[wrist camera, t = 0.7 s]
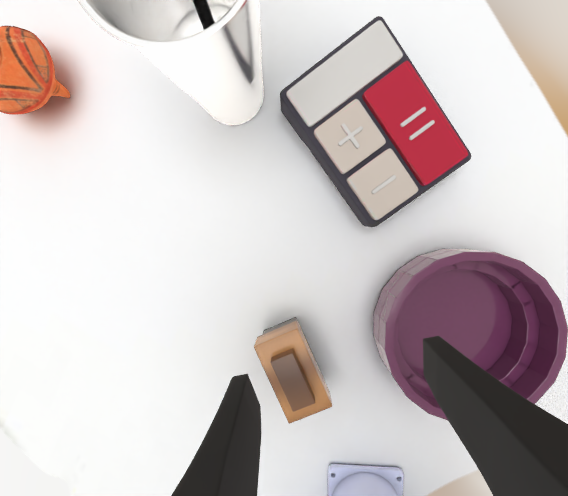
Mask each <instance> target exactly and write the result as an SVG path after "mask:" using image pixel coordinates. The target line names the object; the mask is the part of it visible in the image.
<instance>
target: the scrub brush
mask: <svg viewBox="0 0 568 496" xmlns="http://www.w3.org/2000/svg"><path fill="white" fill-rule="evenodd" d="M254 348H255V350H256V353H257V355H258V357H259V359H260V361H261V364H262V366H263V368H264V370H265V372H266V374H267V377H268V379H269V381H270V383H271V385H272V387H273V390H274V392H275V394H276V396H277V398H278V401H279V403H280V405H281V407H282V409H283V411H284V414H285V416H286V418H287V420H288V422H289V423H292V422H294V421H297V420H300V419H302V418H305V417H307V416H310V415H312V414H315V413H317V412H320V411H322V410H325V409H327V408H330V407H332V402H331V397H330V392H329V389H328V387H327V385H326V383H325V380H324V378H323V376H322V374H321V372H320V369H319V367H318V365H317V363H316V360H315V358H314V356H313V354H312V352H311V349H310V347H309V345H308V343H307V340H306V338H305V336H304V334H303V332H302V329H301V327H300V325H299V323H298V320H297V318H296V317H295V318H293V319H290V320H288V321H285V322H283V323H281V324H278V325H276V326H274V327H271V328H269V329H267V330H264V332H263V335H261V336H259V337H257V340H256V343H255V345H254Z"/></svg>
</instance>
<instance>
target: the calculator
mask: <svg viewBox="0 0 568 496" xmlns="http://www.w3.org/2000/svg"><path fill="white" fill-rule="evenodd" d="M280 101H281V111H282V112H283V114H284V115H285V117H286V118H287V120H288V121H289V122H290V124H291V125H292V127H293V128H294V130H295V131H296V132H297V134H298V135H299V137H300V138H301V139H302V140H303V141H304V142H305V144H306V145H307V146H308V147H309V149H310V150H311V152H312V153H313V155H314V156H315V157H316V159H317V160H318V162H319V163H320V165H321V166H322V167H323V169H324V170H325V172H326V173H327V175H328V176H329V177H330V179H331V180H332V182H333V183H334V185H335V186H336V187H337V189H338V190H339V192H340V193H341V195H342V196H343V197H344V199H345V200H346V202H347V203H348V205H349V206H350V207H351V209H352V210H353V212H354V213H355V215H356V216H357V217H358V219H359V220H360V222H361V223H362V224H363V225H364V226H370V227H375V226H377V225H379V224H380V223H382V222H383V221H384V220H386V219H387V218H389V217H390V216H391V215H393V214H394V213H396V212H397V211H398V210H400V209H401V208H403V207H404V206H406V205H407V204H408V203H410V202H411V201H413V200H414V199H415V198H417V197H418V196H420V195H421V194H422V193H424V192H425V191H427V190H428V189H430V188H431V187H432V186H434V185H435V184H437V183H438V182H439V181H441V180H442V179H444V178H445V177H446V176H448V175H449V174H451V173H452V172H454V171H455V170H456V169H458V168H459V167H461V166H462V165H463V164H465V163H466V162H468V161H469V160H470V159H471V153H470V152H469V150H468V149H467V147H466V146H465V144H464V142H463V141H462V139H461V138H460V136H459V135H458V133H457V132H456V130H455V129H454V127H453V125H452V124H451V122H450V121H449V119H448V118H447V116H446V115H445V113H444V112H443V110H442V109H441V107H440V105H439V104H438V102H437V101H436V99H435V98H434V96H433V95H432V93H431V92H430V90H429V88H428V87H427V85H426V84H425V82H424V81H423V79H422V78H421V76H420V75H419V73H418V72H417V70H416V68H415V67H414V65H413V64H412V62H411V61H410V59H409V58H408V56H407V55H406V53H405V51H404V50H403V48H402V47H401V45H400V44H399V42H398V41H397V39H396V38H395V36H394V35H393V33H392V31H391V30H390V28H389V27H388V25H387V24H386V22H385V21H384V19H383V18H382V17H380V16H378V17H376V18H374V19H373V20H372V21H370V22H369V23H368V24H367V25H365V26H364V27H363V28H362V29H360V30H359V31H358V32H356V33H355V34H354V35H353V36H351V37H350V38H349V39H347V40H346V41H345V42H344V43H342V44H341V45H340V46H338V47H337V48H336V49H335V50H333V51H332V52H331V53H329V54H328V55H327V56H326V57H324V58H323V59H322V60H320V61H319V62H318V63H317V64H315V65H314V66H313V67H311V68H310V69H309V70H308V71H306V72H305V73H304V74H302V75H301V76H300V77H299V78H297V79H296V80H295V81H293V82H292V83H291V84H290V85H288V86H287V87H286V88H284V89H283V90H282V91H281V93H280Z"/></svg>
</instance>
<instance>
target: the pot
mask: <svg viewBox="0 0 568 496" xmlns="http://www.w3.org/2000/svg"><path fill="white" fill-rule="evenodd" d="M51 96H62V97H66V98H70V92H69V91H68V90H67V89H66V88H65V87H64V86H63V85H62V84H61V83H60V82H58V81H57V80H56V78H55V69H54V65H53V61H52V58H51V56H50V53H49V51H48V50H47V48H46V47H45V45H44V44H43V43H42V42H41V40H40V39H39V38H38V37H37V36H36V35H35V34H33V33H32V32H30V31H28V30H25V29H21V28H18V27H15V26H13V27H11V26H9V27H8V26H2V27H0V112H3V113H6V114H25V113H29V112H32V111H35V110H37V109H39V108H41V107H42V106H44V105H45V104H46V103H47V102H48V100H49V99H50V97H51Z"/></svg>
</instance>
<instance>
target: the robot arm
mask: <svg viewBox="0 0 568 496" xmlns="http://www.w3.org/2000/svg"><path fill="white" fill-rule="evenodd" d="M423 372H424V376H425V379H426V381H427V383H428V385H429V387H430V389H431V391H432V393H433V395H434V397H435V399H436V401H437V403H438V404H439V406H440V408H441V409H442V411H443V412H444V414H445V416H446V417H447V419H448V420H449V422H450V424H451V425H452V427H453V428H454V430H455V432H456V433H457V435H458V436H459V438H460V440H461V441H462V443H463V444H464V446H465V447H466V449H467V451H468V452H469V454H470V455H471V457H472V459H473V460H474V462H475V463H476V465H477V467H478V469H479V470H480V472H481V474H482V475H483V477H484V479H485V481H486V483H487V485H488V486H489V488H490V490H491V492H492V494H493V496H568V424H566V423H565V422H563V421H561V420H560V419H558V418H556V417H555V416H553V415H551V414H550V413H548V412H546V411H545V410H543V409H541V408H540V407H538V406H537V405H535V404H533V403H532V402H530V401H529V400H527V399H526V398H524V397H523V396H521V395H520V394H518V393H516V392H515V391H513V390H512V389H510V388H509V387H508V386H506V385H505V384H503V383H502V382H500V381H499V380H497V379H496V378H495V377H493V376H492V375H490V374H489V373H488V372H486V371H485V370H483V369H482V368H481V367H479V366H478V365H477V364H475V363H474V362H473V361H471V360H470V359H469V358H467V357H466V356H465V355H463V354H462V353H461V352H459V351H458V350H457V349H455V348H454V347H453V346H452V345H450V344H449V343H448V342H446V341H445V340H444V339H443V338H441V337H440V336H434V337H429V338H424V339H423ZM260 445H261V411H260V404H259V401H258V399H257V396H256V394H255V391H254V389H253V386H252V384H251V381H250V379H249V376H248V374H244V375H239V376H234V377H233V378H232V379H231V381H230V384H229V386H228V388H227V391H226V393H225V396H224V398H223V400H222V402H221V405H220V407H219V409H218V411H217V413H216V415H215V418H214V420H213V422H212V424H211V426H210V428H209V430H208V432H207V434H206V436H205V438H204V440H203V442H202V444H201V445H200V447H199V449H198V451H197V453H196V455H195V457H194V459H193V460H192V462H191V464H190V466H189V467H188V469H187V471H186V473H185V474H184V476H183V478H182V479H181V481H180V483H179V484H178V486H177V487H176V489H175V491H174V492H173V494H172V495H171V496H257V487H258V473H259V459H260ZM332 473H335V474H332ZM397 477H399V478H397ZM403 482H404V473H403V471H402V469H401V468H397V467H379V466H361V465H343V464H331V465H329V467H328V496H403Z"/></svg>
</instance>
